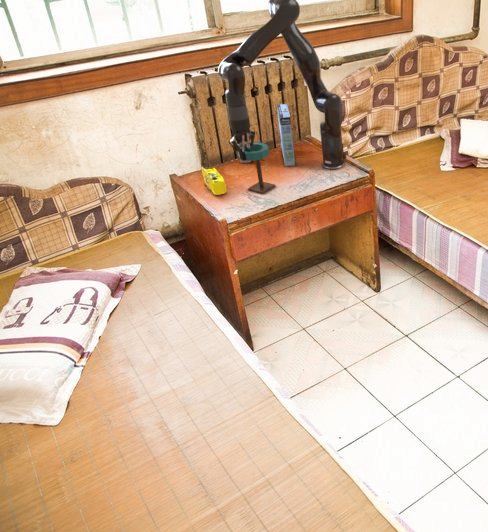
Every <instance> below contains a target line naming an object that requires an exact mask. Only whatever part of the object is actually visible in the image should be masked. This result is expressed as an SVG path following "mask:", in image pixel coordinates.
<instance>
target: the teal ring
mask: <svg viewBox="0 0 488 532" xmlns="http://www.w3.org/2000/svg"><path fill="white" fill-rule="evenodd" d="M240 148H241V146H240ZM269 148H270V147H269V145H268V144H267V143H263V142H254V143H253V146H251V147H250V152H247V151H244V152H245V156H246V161H251V162H252V161H253V162H255V161H256V160H260V161H261V160H264V159H265V158H267V157H269V155H270V149H269ZM244 149H245V148H244ZM237 156H238V158H239V159H240V155H239V152H237Z"/></svg>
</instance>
